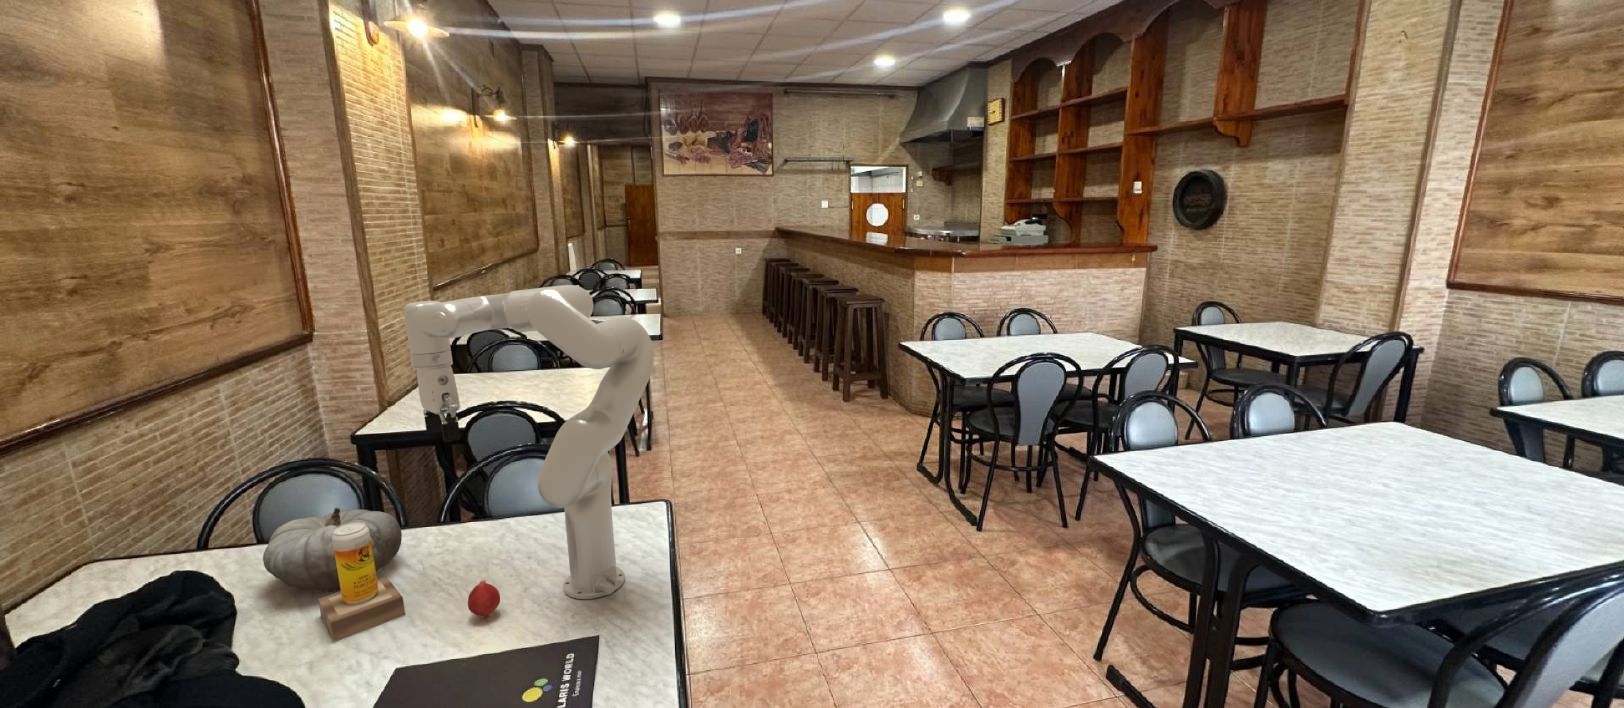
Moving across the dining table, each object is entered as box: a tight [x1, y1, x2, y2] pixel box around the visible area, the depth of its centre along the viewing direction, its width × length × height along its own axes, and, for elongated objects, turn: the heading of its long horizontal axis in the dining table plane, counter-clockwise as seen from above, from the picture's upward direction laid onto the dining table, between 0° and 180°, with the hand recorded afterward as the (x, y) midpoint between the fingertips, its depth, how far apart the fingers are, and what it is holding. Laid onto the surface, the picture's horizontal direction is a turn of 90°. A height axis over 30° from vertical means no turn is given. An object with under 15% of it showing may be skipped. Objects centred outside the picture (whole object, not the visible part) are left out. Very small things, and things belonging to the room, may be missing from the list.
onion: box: [467, 579, 501, 618], centre depth 133 cm, size 6×6×8 cm
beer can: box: [332, 523, 378, 604], centre depth 133 cm, size 6×6×15 cm
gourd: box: [262, 506, 403, 592], centre depth 148 cm, size 25×25×17 cm
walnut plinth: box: [317, 575, 406, 643], centre depth 134 cm, size 12×12×4 cm
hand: (443, 436), depth 145 cm, fingers open, 9 cm apart
